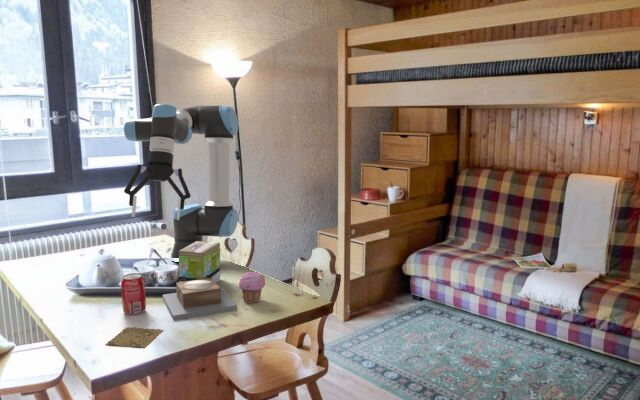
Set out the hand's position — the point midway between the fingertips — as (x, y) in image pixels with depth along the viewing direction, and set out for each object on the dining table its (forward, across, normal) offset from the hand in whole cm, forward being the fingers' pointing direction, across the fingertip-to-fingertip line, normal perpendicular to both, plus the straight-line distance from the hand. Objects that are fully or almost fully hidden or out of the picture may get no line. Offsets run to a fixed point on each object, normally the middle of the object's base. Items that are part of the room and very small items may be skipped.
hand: (155, 218), depth 169 cm
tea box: (+22, +17, +26) cm, 38 cm away
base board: (+27, +16, +7) cm, 32 cm away
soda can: (+30, -4, +6) cm, 31 cm away
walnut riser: (+26, +15, +7) cm, 31 cm away
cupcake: (+26, +33, +5) cm, 42 cm away
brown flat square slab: (+36, -2, -13) cm, 38 cm away
